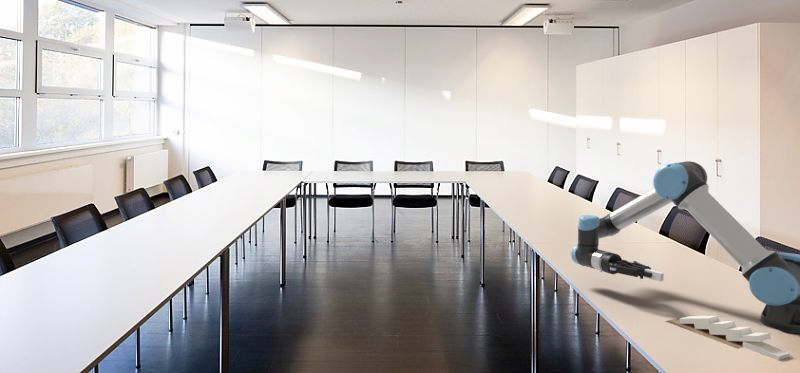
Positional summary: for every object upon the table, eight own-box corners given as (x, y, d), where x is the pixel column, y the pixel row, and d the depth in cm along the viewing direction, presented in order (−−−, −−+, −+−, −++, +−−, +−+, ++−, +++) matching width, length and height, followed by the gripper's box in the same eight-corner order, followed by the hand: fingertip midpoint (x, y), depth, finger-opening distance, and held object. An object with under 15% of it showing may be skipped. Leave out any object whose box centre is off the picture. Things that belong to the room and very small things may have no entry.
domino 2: (693, 323, 180) (723, 323, 171) (704, 321, 182) (734, 321, 174) (695, 328, 180) (724, 329, 171) (705, 326, 182) (735, 326, 173)
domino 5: (742, 341, 166) (778, 356, 158) (753, 338, 169) (789, 353, 160) (742, 346, 167) (777, 362, 158) (753, 343, 169) (788, 358, 160)
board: (686, 318, 191) (686, 316, 191) (759, 344, 170) (759, 342, 170) (665, 323, 187) (665, 321, 187) (737, 350, 165) (737, 348, 165)
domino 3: (708, 329, 176) (740, 329, 167) (719, 326, 178) (750, 327, 169) (709, 334, 176) (741, 335, 167) (720, 331, 178) (752, 332, 169)
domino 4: (725, 335, 171) (758, 335, 162) (736, 332, 173) (769, 332, 164) (726, 340, 171) (760, 341, 162) (737, 337, 173) (771, 338, 164)
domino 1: (679, 318, 185) (707, 318, 176) (689, 316, 187) (718, 315, 178) (680, 323, 184) (708, 323, 176) (691, 321, 187) (719, 321, 178)
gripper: (619, 269, 218) (674, 285, 198) (593, 274, 212) (647, 291, 192) (620, 250, 217) (675, 264, 197) (594, 254, 212) (648, 268, 191)
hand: (661, 277), depth 194 cm, fingers closed
